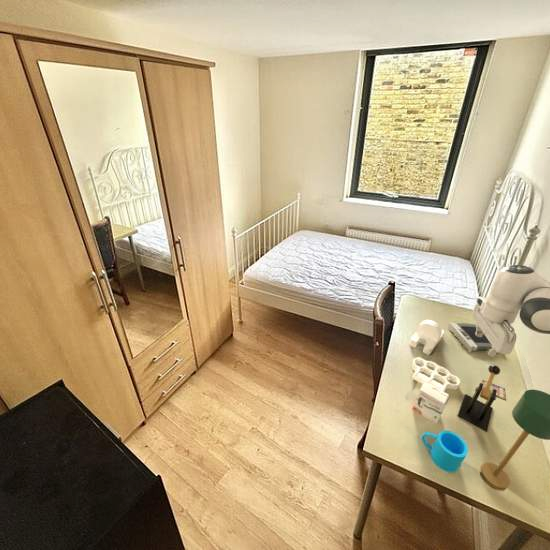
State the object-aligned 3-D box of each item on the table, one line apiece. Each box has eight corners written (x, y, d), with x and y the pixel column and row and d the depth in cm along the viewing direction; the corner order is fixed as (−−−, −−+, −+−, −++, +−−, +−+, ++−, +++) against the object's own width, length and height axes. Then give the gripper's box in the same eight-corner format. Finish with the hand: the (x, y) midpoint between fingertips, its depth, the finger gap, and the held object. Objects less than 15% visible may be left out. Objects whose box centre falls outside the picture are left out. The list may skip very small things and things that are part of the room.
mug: (461, 456, 92) (470, 441, 88) (456, 478, 87) (465, 463, 83) (421, 433, 99) (428, 418, 95) (414, 452, 93) (421, 436, 89)
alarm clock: (449, 322, 147) (481, 320, 147) (447, 329, 149) (478, 327, 149) (470, 346, 132) (506, 343, 132) (468, 354, 134) (503, 351, 134)
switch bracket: (463, 396, 112) (475, 373, 106) (491, 410, 107) (505, 386, 101) (456, 417, 104) (468, 393, 98) (485, 433, 99) (500, 409, 93)
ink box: (410, 411, 106) (419, 388, 100) (415, 402, 110) (424, 380, 104) (435, 426, 101) (446, 404, 95) (440, 416, 105) (450, 394, 99)
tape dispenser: (408, 344, 137) (414, 326, 132) (422, 327, 148) (428, 310, 143) (429, 355, 131) (436, 337, 126) (442, 336, 142) (449, 319, 137)
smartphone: (504, 376, 121) (505, 374, 121) (504, 402, 110) (506, 400, 110) (482, 368, 125) (483, 366, 125) (479, 391, 114) (481, 389, 114)
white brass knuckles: (403, 375, 120) (417, 357, 130) (449, 402, 110) (461, 380, 119) (405, 370, 119) (419, 352, 128) (452, 397, 108) (464, 375, 117)
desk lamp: (508, 470, 89) (563, 397, 73) (514, 500, 82) (577, 428, 66) (474, 456, 93) (519, 384, 76) (477, 484, 85) (528, 412, 69)
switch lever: (488, 365, 107) (491, 361, 105) (499, 370, 105) (502, 366, 103) (477, 396, 102) (479, 392, 100) (488, 401, 100) (491, 398, 98)
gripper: (528, 334, 84) (509, 368, 91) (495, 296, 102) (481, 327, 108) (504, 331, 85) (487, 365, 92) (475, 294, 103) (463, 325, 109)
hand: (484, 344), depth 100 cm, fingers open, 8 cm apart
